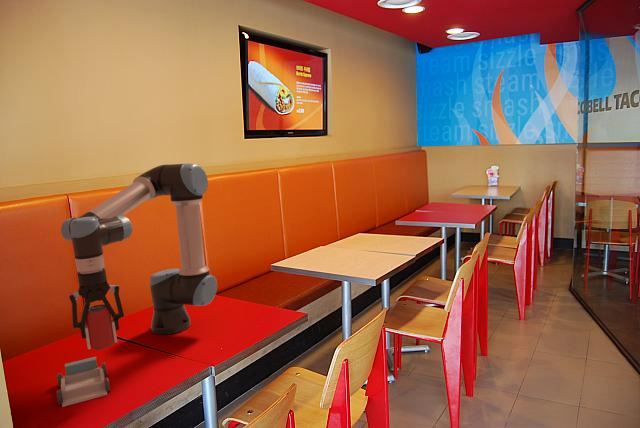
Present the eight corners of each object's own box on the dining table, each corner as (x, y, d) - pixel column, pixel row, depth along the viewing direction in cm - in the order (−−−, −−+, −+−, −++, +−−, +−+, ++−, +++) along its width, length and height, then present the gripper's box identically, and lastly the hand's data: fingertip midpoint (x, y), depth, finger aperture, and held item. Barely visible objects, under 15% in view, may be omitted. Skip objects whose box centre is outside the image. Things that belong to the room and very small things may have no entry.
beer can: (95, 342, 152) (89, 305, 150) (117, 339, 152) (111, 302, 150) (87, 351, 145) (81, 312, 143) (111, 349, 146) (105, 310, 144)
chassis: (58, 383, 157) (56, 366, 156) (106, 371, 164) (104, 354, 163) (58, 408, 142) (55, 389, 141) (110, 393, 149) (108, 375, 148)
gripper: (54, 279, 137) (66, 357, 141) (128, 266, 146) (138, 339, 150) (53, 274, 143) (65, 348, 147) (124, 261, 153) (134, 331, 157)
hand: (102, 344), depth 149 cm, fingers closed on beer can, 7 cm apart
